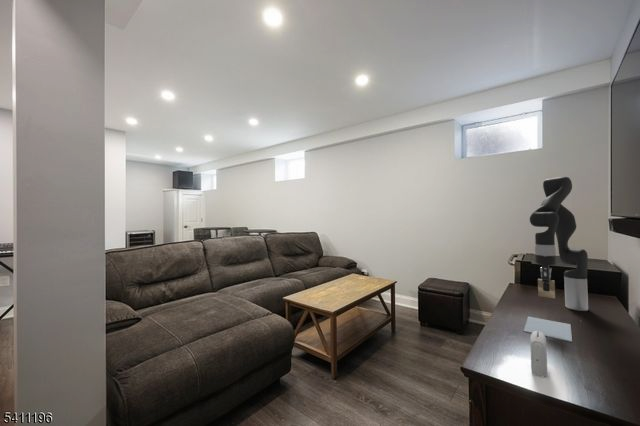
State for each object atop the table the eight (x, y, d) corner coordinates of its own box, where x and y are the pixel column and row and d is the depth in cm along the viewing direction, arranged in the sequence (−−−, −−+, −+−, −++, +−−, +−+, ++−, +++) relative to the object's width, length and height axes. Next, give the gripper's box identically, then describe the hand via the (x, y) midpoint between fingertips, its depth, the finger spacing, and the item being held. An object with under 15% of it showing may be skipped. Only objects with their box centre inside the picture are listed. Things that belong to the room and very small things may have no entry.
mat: (528, 317, 137) (528, 316, 137) (570, 325, 126) (570, 324, 126) (523, 331, 121) (523, 330, 121) (572, 342, 110) (572, 341, 110)
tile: (538, 295, 129) (538, 278, 129) (555, 297, 125) (554, 280, 125) (538, 296, 127) (537, 279, 128) (555, 298, 123) (554, 281, 123)
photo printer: (547, 378, 86) (546, 340, 87) (530, 374, 89) (529, 337, 89) (547, 364, 94) (546, 329, 94) (531, 360, 97) (530, 326, 97)
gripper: (536, 251, 134) (537, 286, 134) (534, 255, 124) (535, 292, 124) (556, 252, 129) (557, 288, 129) (555, 256, 119) (556, 295, 119)
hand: (546, 290), depth 126 cm, fingers closed on tile, 1 cm apart
